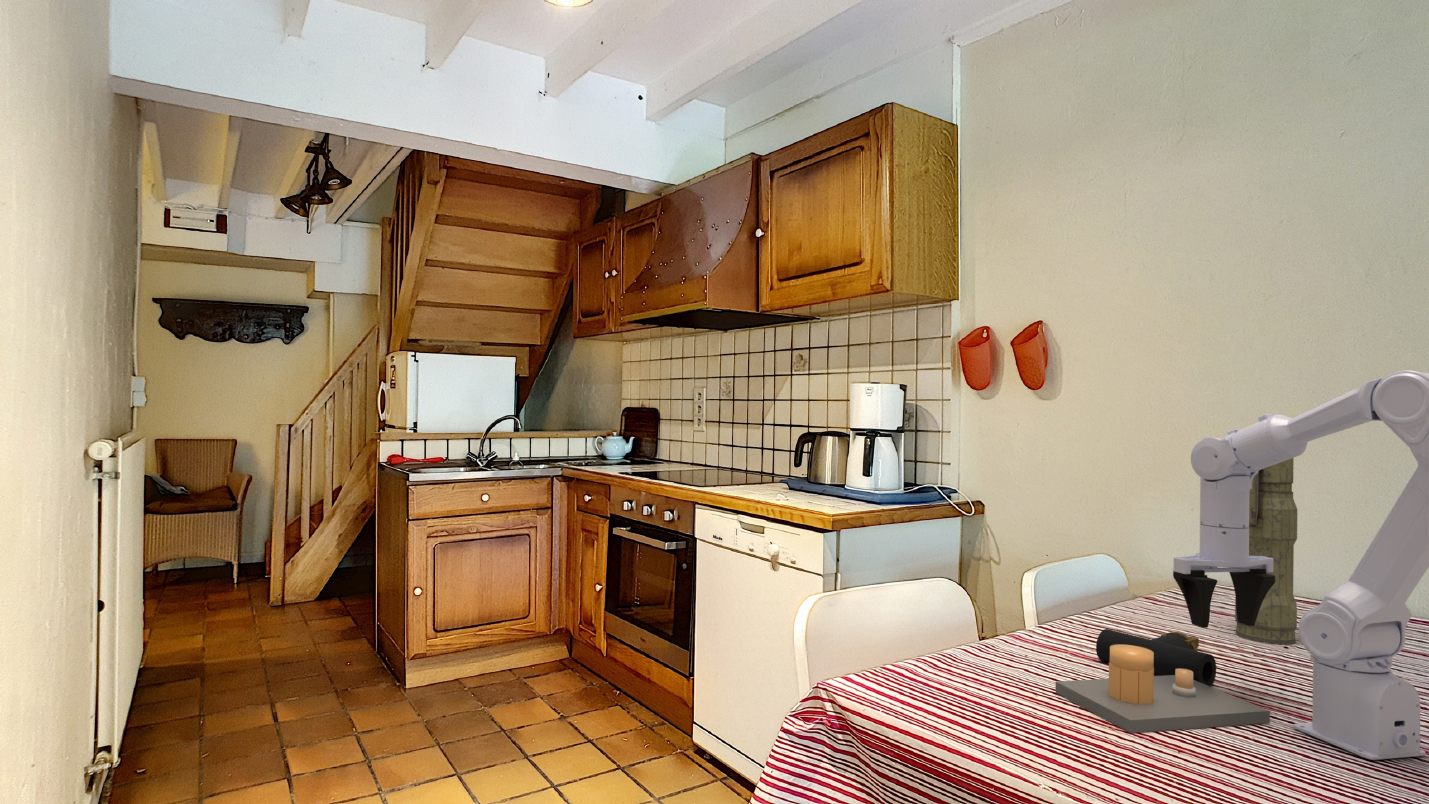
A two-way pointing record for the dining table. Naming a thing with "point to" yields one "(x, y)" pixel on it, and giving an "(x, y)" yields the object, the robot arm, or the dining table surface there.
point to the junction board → (1165, 705)
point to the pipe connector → (1164, 653)
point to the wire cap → (1131, 674)
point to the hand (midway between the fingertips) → (1223, 625)
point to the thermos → (1273, 553)
